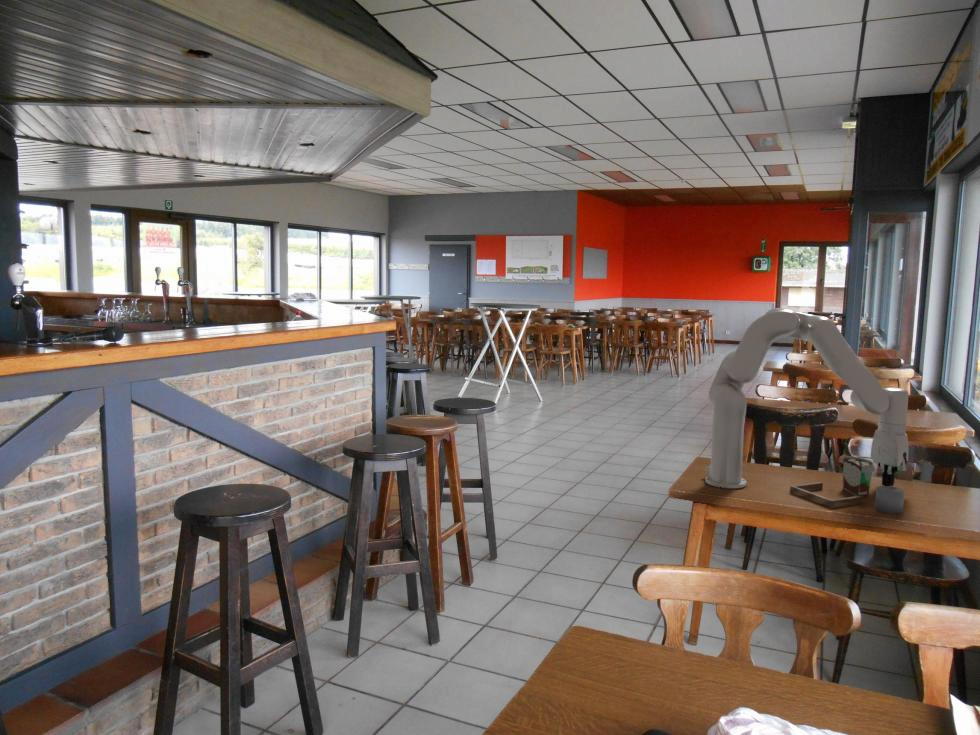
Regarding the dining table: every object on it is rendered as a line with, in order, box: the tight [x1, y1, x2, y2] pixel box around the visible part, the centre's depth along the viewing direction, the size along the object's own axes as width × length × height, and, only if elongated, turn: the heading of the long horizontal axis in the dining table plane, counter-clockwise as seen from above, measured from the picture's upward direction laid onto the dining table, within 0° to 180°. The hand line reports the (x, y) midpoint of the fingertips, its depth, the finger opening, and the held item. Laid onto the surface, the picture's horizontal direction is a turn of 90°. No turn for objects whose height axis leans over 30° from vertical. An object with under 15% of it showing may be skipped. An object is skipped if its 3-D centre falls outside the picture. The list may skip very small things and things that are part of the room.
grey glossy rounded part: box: [874, 485, 905, 515], centre depth 206 cm, size 7×7×6 cm
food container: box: [841, 455, 876, 498], centre depth 222 cm, size 12×6×10 cm, turn 0°
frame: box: [789, 481, 864, 509], centre depth 217 cm, size 16×12×2 cm
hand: (887, 485), depth 227 cm, fingers closed
